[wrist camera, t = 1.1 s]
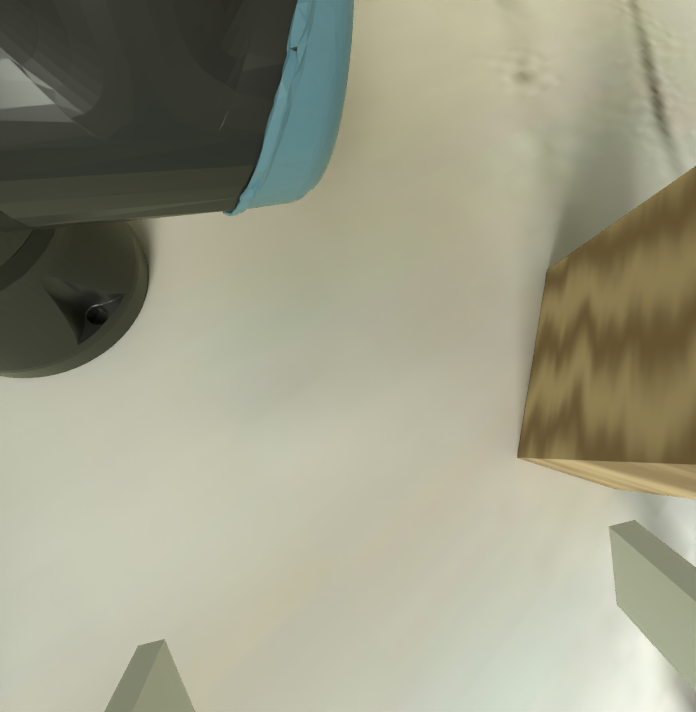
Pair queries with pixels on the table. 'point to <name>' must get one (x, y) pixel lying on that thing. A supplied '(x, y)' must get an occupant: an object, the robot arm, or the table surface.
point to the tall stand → (621, 354)
